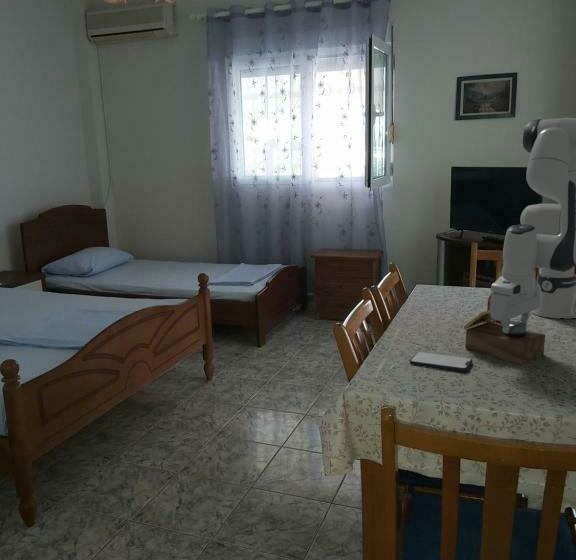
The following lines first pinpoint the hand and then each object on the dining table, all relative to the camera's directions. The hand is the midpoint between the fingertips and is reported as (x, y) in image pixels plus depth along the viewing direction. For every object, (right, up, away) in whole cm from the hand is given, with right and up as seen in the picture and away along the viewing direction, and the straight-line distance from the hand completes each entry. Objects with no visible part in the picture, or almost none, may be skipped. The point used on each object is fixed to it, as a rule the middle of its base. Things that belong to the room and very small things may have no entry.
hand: (514, 329), depth 164 cm
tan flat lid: (-6, +3, +7) cm, 10 cm away
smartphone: (-22, -10, -4) cm, 25 cm away
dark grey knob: (0, -7, +2) cm, 7 cm away
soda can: (+4, -2, +24) cm, 25 cm away
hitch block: (-2, -7, +4) cm, 8 cm away
